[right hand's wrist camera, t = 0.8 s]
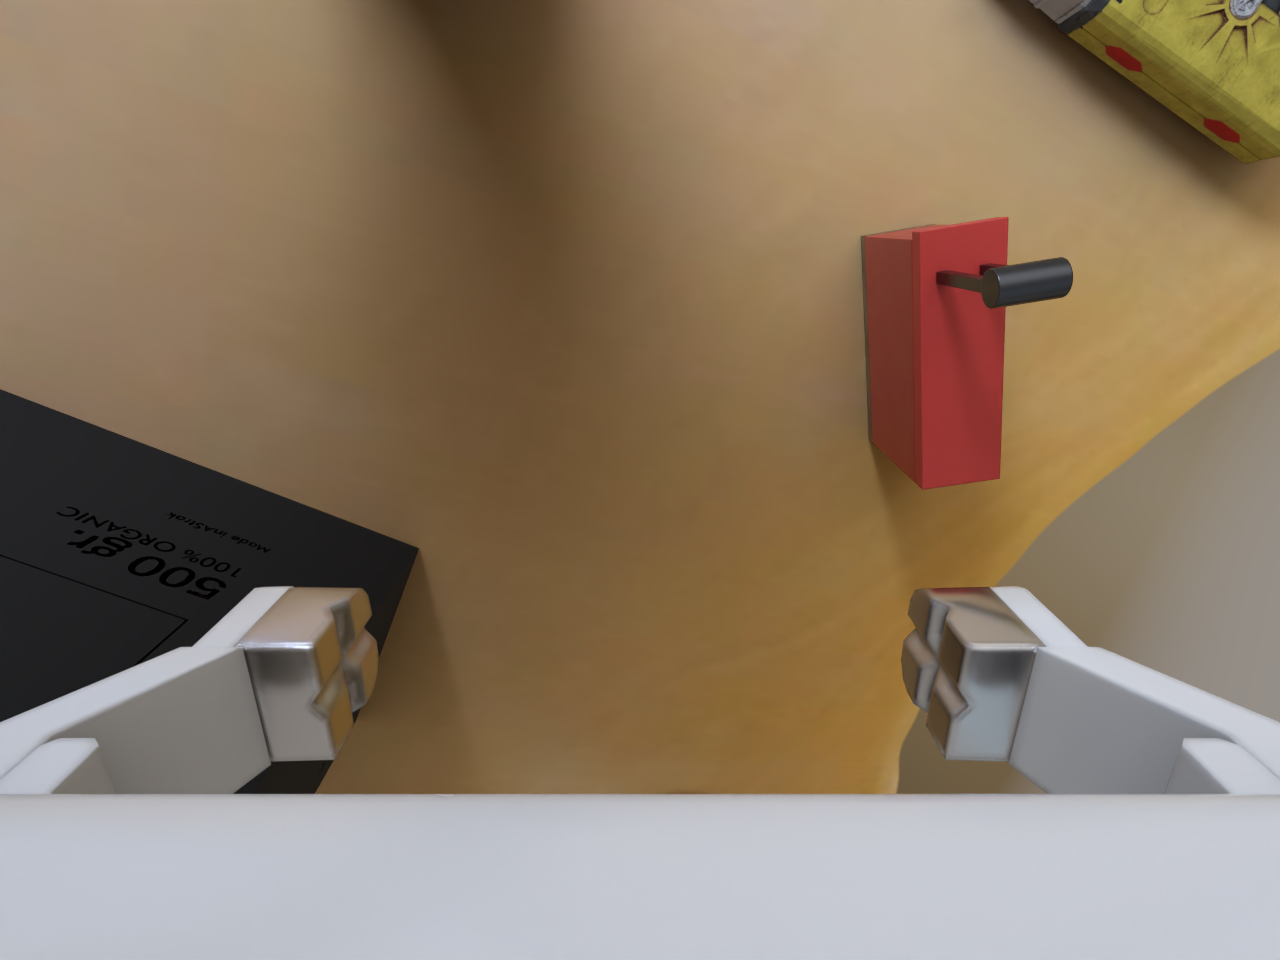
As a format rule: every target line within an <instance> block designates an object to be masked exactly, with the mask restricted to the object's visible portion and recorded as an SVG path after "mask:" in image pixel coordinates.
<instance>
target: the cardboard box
mask: <svg viewBox="0 0 1280 960" xmlns="http://www.w3.org/2000/svg"><path fill="white" fill-rule="evenodd" d="M170 514H172V515H174V514H177V515H176V516H174V517H173V518H171V519H170V517H172V516H169V515H170ZM178 515H180V516H182V517H177V516H178ZM185 518H186V519H185ZM178 519H183V520H178ZM189 519H190V521H189ZM184 521H186V522H184ZM188 521H189V522H188ZM194 521H196V522H195V523H194V524H193V522H194ZM189 523H190V524H192V525H189ZM197 523H200V524H198V525H199V528H198V526H197ZM202 524H203V526H202ZM205 525H207V526H206V527H205ZM194 526H195V527H194ZM200 527H201V528H200ZM139 532H141V533H142V534H140V535H138V533H139ZM148 535H149V536H150V540H148V541H145V540H144V539H147V538H148ZM137 536H139V537H140V538H138V537H137ZM98 537H100V538H98ZM105 537H106V541H105V543H109V540H110V541H111V542H112V543H111V544H110V545H108V544H105V543H104V542H103V539H104V538H105ZM108 537H112V538H110V539H109V540H107V538H108ZM97 538H98V539H97ZM153 538H154V539H153ZM121 539H124V541H123V542H121ZM152 539H153V540H154V541H153V542H152V541H151V540H152ZM157 542H159V543H158V544H155V543H157ZM165 542H170V543H171V544H172V546H171V545H170V544H169V543H165ZM84 543H87V544H88V545H86V546H85V547H84ZM132 544H133V545H132ZM173 544H174V545H175V546H176V548H173ZM125 545H127V547H125ZM131 545H132V547H131ZM94 546H96V547H99V548H103V549H99V550H98V552H99V553H102V554H107V553H109V551H111V552H112V553H114V554H115V556H112V557H105V556H103V555H100V554H97V553H94V552H90V551H91V548H92V547H94ZM120 546H123V547H122V549H124V550H122V549H119V548H120ZM418 549H419V548H416V547H413V546H411V545H408V544H406V543H403V542H400V541H398V540H395V539H392V538H390V537H387V536H385V535H382V534H379V533H377V532H374V531H371V530H369V529H366V528H363V527H361V526H358V525H356V524H353V523H350V522H348V521H345V520H342V519H340V518H337V517H335V516H332V515H329V514H327V513H324V512H321V511H319V510H316V509H313V508H311V507H308V506H306V505H303V504H300V503H298V502H295V501H292V500H290V499H287V498H284V497H282V496H279V495H277V494H274V493H271V492H269V491H266V490H263V489H261V488H258V487H256V486H253V485H250V484H248V483H245V482H242V481H240V480H237V479H234V478H232V477H229V476H227V475H224V474H221V473H219V472H216V471H213V470H211V469H208V468H206V467H203V466H200V465H198V464H195V463H192V462H190V461H187V460H184V459H182V458H179V457H177V456H174V455H171V454H169V453H166V452H163V451H161V450H158V449H156V448H153V447H150V446H148V445H145V444H142V443H140V442H137V441H134V440H132V439H129V438H127V437H124V436H121V435H119V434H116V433H113V432H111V431H108V430H105V429H103V428H100V427H98V426H95V425H92V424H90V423H87V422H84V421H82V420H79V419H77V418H74V417H71V416H69V415H66V414H63V413H61V412H58V411H55V410H53V409H50V408H48V407H45V406H42V405H40V404H37V403H34V402H32V401H29V400H27V399H24V398H21V397H19V396H16V395H13V394H11V393H8V392H5V391H3V390H0V722H2V721H5V720H7V719H9V718H12V717H14V716H17V715H19V714H21V713H24V712H26V711H29V710H31V709H33V708H36V707H38V706H41V705H43V704H45V703H48V702H50V701H53V700H55V699H57V698H60V697H62V696H65V695H67V694H69V693H72V692H74V691H77V690H79V689H81V688H84V687H86V686H89V685H91V684H93V683H96V682H98V681H100V680H103V679H105V678H108V677H110V676H112V675H115V674H117V673H120V672H122V671H124V670H127V669H129V668H132V667H134V666H136V665H139V664H141V663H144V662H146V661H148V660H151V659H153V658H156V657H158V656H160V655H163V654H165V653H168V652H170V651H172V650H175V649H177V648H180V647H192V646H194V645H195V644H196V643H197V642H198V641H199V640H200V639H201V638H202V637H203V636H204V635H205V634H206V633H207V632H208V631H210V630H211V629H212V628H213V627H214V626H215V625H216V624H217V623H218V622H219V621H220V620H221V619H222V618H223V617H224V616H226V615H227V614H228V613H229V612H230V611H231V610H232V609H233V608H234V607H235V606H236V605H237V604H238V603H239V602H240V601H242V600H243V599H244V598H245V597H246V596H247V595H248V594H249V593H250V592H251V591H252V590H253V589H254V588H259V587H280V586H293V587H330V588H362V589H363V590H364V591H365V592H366V593H367V594H368V597H369V602H370V607H371V611H372V615H371V617H370V619H369V620H368V622H367V623H366V625H365V626H364V628H365V629H366V630H367V631H368V632H369V633H370V634H371V635H372V636H373V637H374V638H375V639H376V641H377V648H378V658H379V656H380V653H381V650H382V648H383V645H384V642H385V639H386V637H387V634H388V631H389V628H390V626H391V623H392V620H393V617H394V615H395V612H396V609H397V607H398V604H399V601H400V598H401V596H402V593H403V590H404V587H405V585H406V582H407V579H408V577H409V574H410V571H411V568H412V566H413V563H414V560H415V557H416V555H417V552H418ZM108 550H109V551H108ZM144 557H146V558H144ZM153 557H158V558H156V559H155V560H153ZM147 558H150V559H147ZM134 560H137V561H140V562H142V563H141V564H139V565H138V566H137V567H134V566H131V567H130V571H128V566H129V564H130V563H131V562H133V561H134ZM158 561H160V563H159V562H158ZM164 561H165V563H166V565H164V564H163V563H164ZM177 567H179V569H180V570H178V569H176V568H177ZM183 567H184V568H183ZM188 568H189V569H190V570H193V571H192V572H190V573H188ZM152 569H155V571H156V574H154V575H151V576H145V573H146V572H148V571H150V570H152ZM165 571H166V572H169V573H172V574H171V575H170V576H169V577H168V578H167V579H166V581H167V583H170V584H174V585H173V587H168V586H165V585H163V580H164V578H163V577H161V574H162V573H163V572H165ZM195 575H196V576H195ZM212 577H213V578H214V581H211V580H212ZM185 578H186V579H189V580H192V581H191V582H190V583H188V584H187V585H184V586H183V584H184V579H185ZM203 578H205V579H203ZM216 578H217V579H219V583H217V579H216ZM206 579H208V580H206ZM205 588H209V589H217V591H216V592H215V593H214V594H213V595H211V596H210V597H209V598H207V599H203V598H200V597H197V596H194V595H197V594H199V593H201V594H204V595H207V594H209V593H210V592H211V591H204V589H205ZM188 590H192V591H193V592H192V594H194V595H192V594H189V593H186V591H188ZM360 708H361V707H360ZM360 708H359V709H357V710H356V711H354V712H353V713H352V716H353V722H354V723H355V721H356V719H357V716H358V713H359V710H360ZM332 762H333V760H307V761H271V765H270V766H269V767H267V768H266V769H265V770H263V771H262V772H261V773H259V774H258V775H257V776H255V777H254V778H253V779H251V780H250V781H249V782H248V783H246V784H245V785H244V786H242V787H241V788H240V789H238V790H237V791H236V792H234V793H233V794H315V792H316V790H317V788H318V787H319V785H320V783H321V781H322V780H323V778H324V776H325V774H326V773H327V771H328V769H329V767H330V766H331V764H332Z"/></svg>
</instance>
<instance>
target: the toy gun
mask: <svg viewBox="0 0 1280 960" xmlns="http://www.w3.org/2000/svg"><path fill="white" fill-rule="evenodd" d="M1028 1H1030V2H1031V3H1032V4H1034V7H1035V8H1037V9H1038V8H1040V9H1041V10H1042V11H1043V12H1044V13H1045V14H1047V15H1048V16H1049V17H1050V18H1051V19H1052V20H1053V21H1055V22H1056V23H1057V29H1059V30H1060V31H1062V32H1063V33H1065V34H1067V35H1068V36H1069V37H1071V38H1072V39H1073V40H1075V41H1076V42H1078V43H1079V44H1080V45H1082V46H1083V47H1084V48H1086V49H1087V50H1089V51H1090V52H1091V53H1093V54H1094V55H1095V56H1097V57H1098V58H1099V59H1101V60H1102V61H1104V62H1105V63H1106V64H1108V65H1109V66H1110V67H1112V68H1113V69H1115V70H1116V71H1117V72H1119V73H1120V74H1121V75H1123V76H1124V77H1126V78H1127V79H1128V80H1130V81H1131V82H1132V83H1134V84H1135V85H1137V86H1138V87H1139V88H1141V89H1142V90H1143V91H1145V92H1146V93H1148V94H1149V95H1150V96H1152V97H1153V98H1154V99H1156V100H1157V101H1159V102H1160V103H1161V104H1163V105H1164V106H1165V107H1167V108H1168V109H1170V110H1171V111H1172V112H1174V113H1175V114H1176V115H1178V116H1179V117H1181V118H1182V119H1183V120H1185V121H1186V122H1187V123H1189V124H1190V125H1191V126H1193V127H1194V128H1196V129H1197V130H1198V131H1200V132H1201V133H1202V134H1204V135H1205V136H1207V137H1208V138H1209V139H1211V140H1212V141H1213V142H1215V143H1216V144H1218V145H1219V146H1220V147H1222V148H1223V149H1224V150H1226V151H1227V152H1229V153H1230V154H1231V155H1233V156H1234V157H1235V158H1237V159H1238V160H1240V161H1241V162H1242V163H1244V164H1247V163H1251V162H1255V161H1258V160H1262V159H1268V158H1274V157H1278V156H1280V0H1028Z"/></svg>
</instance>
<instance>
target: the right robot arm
mask: <svg viewBox="0 0 1280 960" xmlns="http://www.w3.org/2000/svg"><path fill="white" fill-rule="evenodd" d="M371 615H372V611H371V607H370V602H369V597H368V594H367V593H366V592H365V591H364V590H363V589H362V588H330V587H293V586H280V587H259V588H254V589H253V590H252V591H251V592H250V593H249V594H248V595H247V596H246V597H245V598H244V599H243V600H242V601H240V602H239V603H238V604H237V605H236V606H235V607H234V608H233V609H232V610H231V611H230V612H229V613H228V614H227V615H226V616H224V617H223V618H222V619H221V620H220V621H219V622H218V623H217V624H216V625H215V626H214V627H213V628H212V629H211V630H210V631H208V632H207V633H206V634H205V635H204V636H203V637H202V638H201V639H200V640H199V641H198V642H197V643H196V644H195V645H194V646H192V647H180V648H177V649H175V650H172V651H170V652H168V653H165V654H163V655H160V656H158V657H156V658H153V659H151V660H148V661H146V662H144V663H141V664H139V665H136V666H134V667H132V668H129V669H127V670H124V671H122V672H120V673H117V674H115V675H112V676H110V677H108V678H105V679H103V680H100V681H98V682H96V683H93V684H91V685H89V686H86V687H84V688H81V689H79V690H77V691H74V692H72V693H69V694H67V695H65V696H62V697H60V698H57V699H55V700H53V701H50V702H48V703H45V704H43V705H41V706H38V707H36V708H33V709H31V710H29V711H26V712H24V713H21V714H19V715H17V716H14V717H12V718H9V719H7V720H5V721H2V722H0V960H1280V722H1277V721H1275V720H1272V719H1270V718H1268V717H1265V716H1263V715H1260V714H1258V713H1256V712H1253V711H1251V710H1249V709H1246V708H1244V707H1241V706H1239V705H1237V704H1234V703H1232V702H1229V701H1227V700H1225V699H1222V698H1220V697H1218V696H1215V695H1213V694H1210V693H1208V692H1206V691H1203V690H1201V689H1198V688H1196V687H1194V686H1191V685H1189V684H1186V683H1184V682H1182V681H1179V680H1177V679H1175V678H1172V677H1170V676H1167V675H1165V674H1163V673H1160V672H1158V671H1155V670H1153V669H1151V668H1148V667H1146V666H1143V665H1141V664H1139V663H1136V662H1134V661H1132V660H1129V659H1127V658H1124V657H1122V656H1120V655H1117V654H1115V653H1112V652H1110V651H1108V650H1105V649H1103V648H1100V647H1088V646H1086V645H1085V644H1084V643H1083V642H1082V641H1081V640H1080V639H1079V638H1078V637H1077V636H1076V635H1075V634H1074V633H1073V632H1072V631H1070V630H1069V629H1068V628H1067V627H1066V626H1065V625H1064V624H1063V623H1062V622H1061V621H1060V620H1059V619H1058V618H1057V617H1056V616H1055V615H1054V614H1052V613H1051V612H1050V611H1049V610H1048V609H1047V608H1046V607H1045V606H1044V605H1043V604H1042V603H1041V602H1040V601H1039V600H1038V599H1037V598H1035V597H1034V596H1033V595H1032V594H1031V593H1030V592H1029V591H1028V590H1027V589H1025V588H1022V587H1019V586H1006V587H965V588H924V589H916V590H915V591H914V593H913V595H912V598H911V600H910V605H909V611H908V615H909V617H910V619H911V620H912V622H913V623H914V625H915V626H916V628H915V629H914V630H913V631H912V632H911V633H910V634H909V635H908V636H907V637H906V638H905V639H904V642H903V650H902V658H901V663H902V674H903V680H904V683H905V687H906V690H907V692H908V694H909V696H910V698H911V700H912V702H913V703H914V704H915V705H916V706H918V707H920V708H921V709H923V710H924V711H926V712H928V716H927V722H926V726H927V728H928V730H929V731H930V733H931V735H932V737H933V739H934V740H935V742H936V744H937V745H938V747H939V749H940V751H941V752H942V754H943V756H944V758H945V759H946V760H972V761H1009V765H1010V766H1012V767H1013V768H1014V769H1016V770H1017V771H1018V772H1020V773H1021V774H1022V775H1024V776H1025V777H1026V778H1027V779H1029V780H1030V781H1032V782H1033V783H1034V784H1035V785H1037V786H1038V787H1039V788H1041V789H1042V790H1043V791H1045V792H1046V793H1047V794H233V793H234V792H236V791H237V790H238V789H240V788H241V787H242V786H244V785H245V784H246V783H248V782H249V781H250V780H251V779H253V778H254V777H255V776H257V775H258V774H259V773H261V772H262V771H263V770H265V769H266V768H267V767H269V766H270V765H271V761H307V760H334V759H335V758H336V756H337V754H338V752H339V751H340V749H341V747H342V746H343V744H344V742H345V740H346V739H347V737H348V735H349V733H350V732H351V730H352V728H353V726H354V722H353V716H352V713H353V712H354V711H356V710H357V709H359V708H360V707H362V706H364V705H365V704H366V703H367V702H368V700H369V698H370V696H371V694H372V692H373V690H374V687H375V683H376V678H377V674H378V648H377V641H376V639H375V638H374V637H373V636H372V635H371V634H370V633H369V632H368V631H367V630H366V629H365V628H364V626H365V625H366V623H367V622H368V620H369V619H370V617H371Z"/></svg>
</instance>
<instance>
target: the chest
mask: <svg viewBox="0 0 1280 960" xmlns="http://www.w3.org/2000/svg"><path fill="white" fill-rule="evenodd" d="M941 226H947V225H925V226H919V227H913V228H907V229H901V230H895V231H889V232H883V233H877V234H871V235H865V236H861V251H862V276H863V301H864V327H865V352H866V377H867V403H868V428H869V440H870V441H871V442H872V443H874V444H875V445H876V446H877V447H878V448H879V449H880V450H881V451H882V452H883V453H884V454H885V455H886V456H887V457H888V458H890V459H891V460H892V461H893V462H894V463H895V464H896V465H897V466H898V467H899V468H900V469H901V470H902V471H903V472H904V473H905V474H906V475H908V476H909V477H910V478H911V479H912V480H913V481H914V482H915V483H916V476H915V405H914V335H913V265H912V232H913V231H917V230H923V229H929V228H935V227H941Z"/></svg>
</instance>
